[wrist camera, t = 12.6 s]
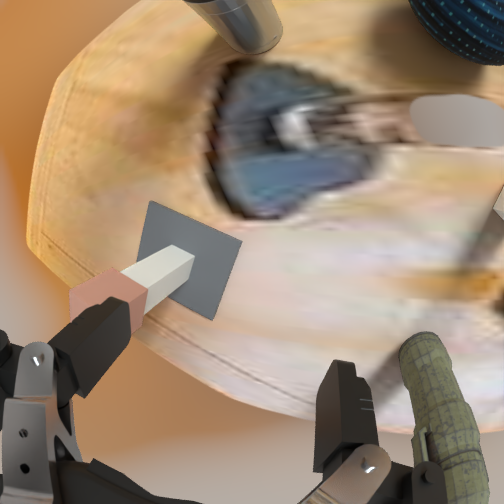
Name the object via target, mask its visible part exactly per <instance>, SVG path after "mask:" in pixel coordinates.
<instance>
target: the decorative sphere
mask: <svg viewBox="0 0 504 504" xmlns="http://www.w3.org/2000/svg"><path fill="white" fill-rule="evenodd" d="M409 2H410V5H411V7H412V9H413V11H414V13H415V14H416V16H417V18H418V20H419V21H420V23H421V24H422V25H423V26H424V28H425V29H426V30H427V31H428V32H429V33H430V34H431V35H432V37H433V38H435V39H436V40H437V41H438V42H439V43H440V44H441V45H443V46H444V47H446V48H447V49H448V50H450V51H451V52H453V53H455V54H456V55H458V56H460V57H462V58H464V59H467V60H469V61H472V62H475V63H478V64H482V65H495V66H501V65H504V0H409Z"/></svg>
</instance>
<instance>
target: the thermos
mask: <svg viewBox="0 0 504 504" xmlns="http://www.w3.org/2000/svg"><path fill="white" fill-rule="evenodd" d="M399 361H400V368H401V373H402V377H403V381H404V386H405V387H406V388H407V389H408V390H409V394H410V398H411V403H412V408H413V413H414V418H415V424H416V425H415V428H414V437H413V438H412V439H411V442H412V448H413V457H414V467H415V466H416V465H418V464H419V463H421V462H423V461H431V462H434V463H436V464H438V465H439V466H440V467H441V469H442V470H443V472H444V476H445V483H446V490H447V499H448V504H488V501H489V495H490V491H489V486H488V482H489V479H488V474H487V470H486V466H485V462H484V458H483V454H482V451H481V448H480V444H479V442H480V433H479V430H478V427H477V424H476V421H475V418H474V415H473V412H472V410H471V407H470V406H469V404H468V403H466V402H465V401H464V398H463V395H462V393H461V390H460V388H459V385H458V383H457V380H456V378H455V376H454V373H453V371H452V361H451V359H450V357H449V355H448V352H447V350H446V348H445V347H444V345H443V343H442V342H441V340H440V339H439V337H438V335H436V334H434V333H433V332H420V333H417V334H415V335H413V336H411V337H410V338H409V339H407V340H406V341H405V343H404V344H403V345H402V347H401V349H400V351H399Z"/></svg>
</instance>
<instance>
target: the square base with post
mask: <svg viewBox="0 0 504 504" xmlns="http://www.w3.org/2000/svg"><path fill="white" fill-rule="evenodd" d="M241 244H242V241H240V240H238V239H236V238H234V237H232V236H229V235H227V234H225V233H223V232H220V231H218V230H216V229H214V228H212V227H209V226H207V225H205V224H203V223H201V222H198V221H196V220H194V219H192V218H189V217H187V216H185V215H183V214H181V213H178V212H176V211H174V210H172V209H169V208H167V207H165V206H163V205H161V204H158V203H156V202H154V201H149V205H148V210H147V214H146V218H145V223H144V227H143V232H142V237H141V241H140V246H139V252H138V257H137V262H136V263H135V264H133V265H132V266H130V267H128V268H126V269H124V270H122V271H120V272H121V273H122V274H124V275H125V276H127V277H129V278H130V279H132V280H134V281H135V282H137V283H139V284H140V285H142V286H144V287H145V288H147V289H148V294H147V299H146V305H145V310H144V314H146V313H147V312H148V311H149V310H151V309H152V308H153V307H154V306H156V305H157V304H158V303H159V302H161V301H162V300H163V299H164V298H166V297H169V298H171V299H173V300H175V301H176V302H178V303H180V304H182V305H184V306H186V307H187V308H189V309H191V310H193V311H195V312H197V313H199V314H201V315H203V316H205V317H206V318H208V319H210V320H213V319H214V317H215V314H216V311H217V309H218V306H219V303H220V300H221V298H222V295H223V292H224V290H225V287H226V284H227V281H228V279H229V276H230V273H231V271H232V268H233V265H234V263H235V260H236V257H237V255H238V252H239V249H240V247H241Z"/></svg>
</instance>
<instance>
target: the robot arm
mask: <svg viewBox="0 0 504 504" xmlns="http://www.w3.org/2000/svg"><path fill="white" fill-rule="evenodd" d="M183 1H184V2H185V3H186V4H187V5H188V6H189V7H191V8H192V9H193V10H194V11H195V12H196V13H197V14H198V15H200V16H201V17H202V18H203V19H204V20H205V21H206V22H207V23H208V24H209V25H210V26H211V27H212V28H213V29H214V30H215V31H216V32H217V33H218V34H219V35H220V36H221V37H222V38H223V39H224V40H225V41H226V42H227V43H228V44H229V45H230V46H231V47H232V48H233V49H234V50H236V51H238V52H240V53H243V54H259V53H262V52H265V51H267V50H269V49H271V48H272V47H273V46H275V45H276V44H277V43H278V41H279V40H280V38H281V36H282V32H283V27H282V24H281V21H280V19H279V16H278V14H277V12H276V9H275V7H274V5H273V3H272V1H271V0H183ZM130 338H131V322H130V307H129V304H128V302H126V301H123V300H121V299H118V298H115V297H113V296H110V297H108V298H107V299H106V300H105V301H104V302H103V303H101V304H100V305H99V304H96V305H93V306H91V307H88V308H86V309H85V310H84V311H83V312H82V313H80V314H79V315H78V317H76V318H75V319H73V320H72V322H71V323H69V324H68V325H67V326H66V327H64V328H63V329H62V330H61V331H60V332H59V333H58V334H57V335H55V336H54V337H53V338H52V339H51V340H50V341H49V342H48V343H44V342H33V343H30V344H28V345H26V346H25V347H22V346H18V345H15V344H12V343H10V341H9V339H8V336H7V334H6V333H5V332H4V331H2V330H0V431H1V430H2V470H3V474H0V504H202V503H199V502H195V501H189V500H180V499H172V498H165V497H159V496H154V495H152V494H150V493H149V492H147V491H146V490H145V489H143V488H142V487H140V486H139V485H138V484H136V483H135V482H133V481H132V480H131V479H129V478H128V477H127V476H126V475H124V474H123V473H121V472H119V471H117V470H115V469H113V468H111V467H109V466H107V465H105V464H103V463H101V462H99V461H97V460H96V459H94V458H93V460H92V461H91V463H85V462H83V461H82V457H81V454H80V451H79V448H78V446H77V442H76V436H75V427H74V417H73V402H72V399H71V398H72V396H73V395H74V394H75V393H76V394H78V395H79V396H81V397H83V398H86V396H87V395H88V394H89V393H90V391H91V390H92V388H93V387H94V386H95V385H96V384H97V382H98V381H99V380H100V379H101V377H102V376H103V375H104V373H105V372H106V371H107V370H108V369H109V367H110V366H111V365H112V363H113V362H114V361H115V360H116V358H117V357H118V356H119V355H120V354H121V353H122V351H123V350H124V349H125V348H126V346H127V345H128V343H129V341H130ZM373 409H374V407H373V402H372V395H371V389H370V387H369V386H368V384H367V382H366V381H365V379H364V378H361V377H357V375H356V368H355V364H354V363H353V362H347V361H341V360H336V359H335V360H333V362H332V363H331V365H330V367H329V369H328V371H327V373H326V375H325V377H324V379H323V381H322V383H321V385H320V387H319V390H318V393H317V398H316V426H315V448H314V449H315V450H314V465H313V472H317V473H323V480H322V481H321V482H320V483H319V484H318V485H317V486H316V487H315V488H314V489H313V490H312V491H311V492H310V493H309V494H308V495H306V496H305V497H304V498H303V499H302V500H301V501H300V502H299V503H297V504H448V499H447V490H446V483H445V476H444V472H443V470H442V469H441V467H440V466H439V465H438V464H436V463H434V462H431V461H423V462H421V463H419V464H418V465H416V466H415V467H414V468H413V467H409V466H405V465H402V464H399V463H395V462H393V461H391V459H390V457H389V455H388V453H387V452H386V451H385V450H384V449H383V448H381V447H379V442H378V434H377V427H376V420H375V413H374V411H373Z"/></svg>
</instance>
